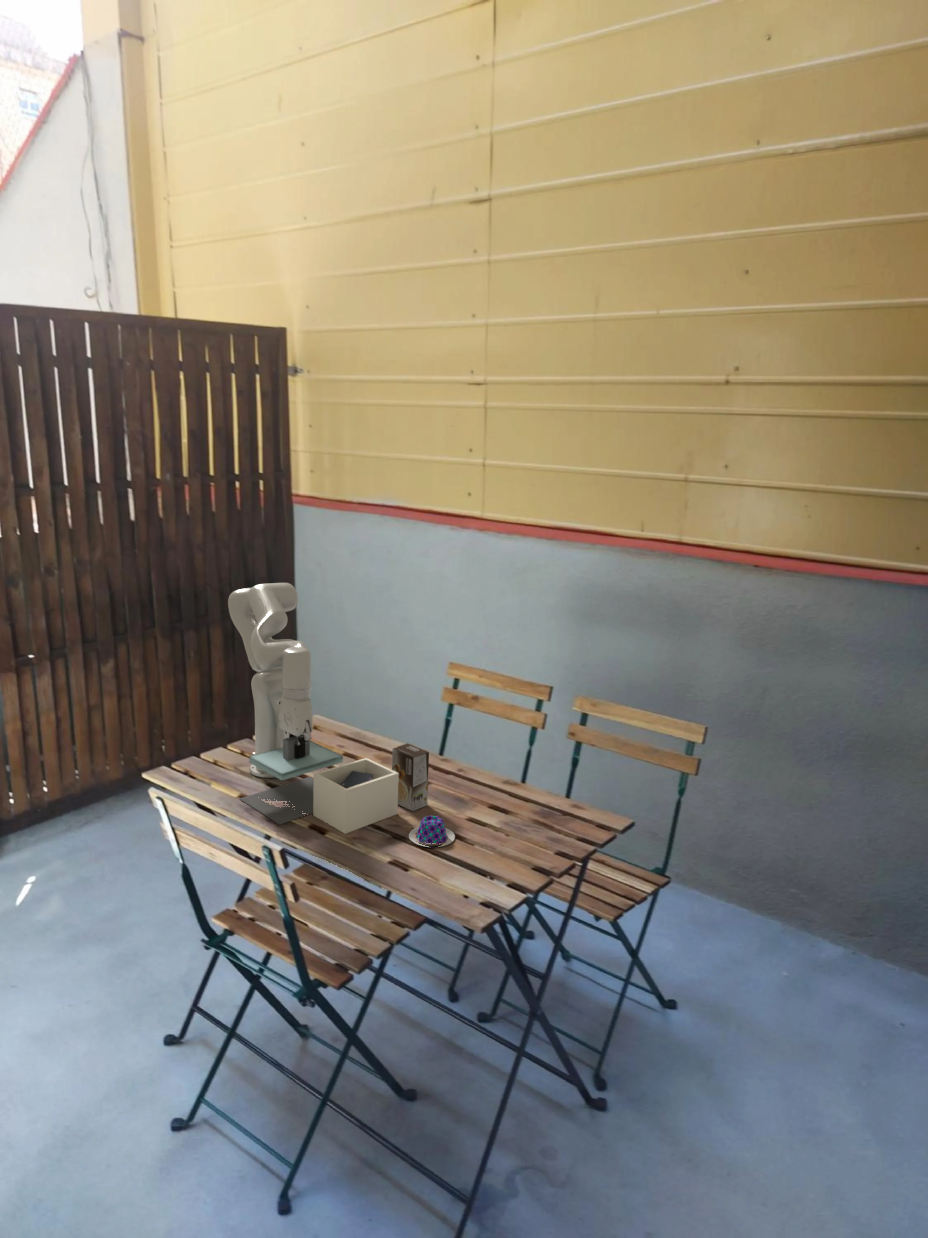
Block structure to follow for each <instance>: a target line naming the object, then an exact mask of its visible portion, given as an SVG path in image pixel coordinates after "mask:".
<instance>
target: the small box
mask: <svg viewBox="0 0 928 1238" xmlns="http://www.w3.org/2000/svg"><path fill="white" fill-rule="evenodd" d="M372 779H373V774H369V773H362V772H357V771H352V772H351V773H350V774H349V775H348V776H347V778H346V779H345V780H344V781H343V782H342V783H341V784H340V785H341V786H342V787H344V788H346V789H347V788H350V787H353V786H356V785H359V784H362V783H365V782H368V781H371V780H372Z"/></svg>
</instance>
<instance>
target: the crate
mask: <svg viewBox="0 0 928 1238" xmlns="http://www.w3.org/2000/svg"><path fill="white" fill-rule="evenodd" d="M352 771H357V772H362V773H369V774H373V779H372V780H371V781H368V782H365V783H362V784H359V785H356V786H353V787H350V788H347V789H346V788H344V787H342V786H341V785H340V784H341V783H342V782H343V781H344V780H345V779H346V778H347V776H348V775H349V774H350V773H351V772H352ZM313 778H314V786H313V813H312V814H313V815H312V816H314V817H315V818H316V819H319V820H321V821H322V820H323V821H322V822H324V823H326V824H327V823H328V824H327V825H329V826H330V827H332V826H333V828H334V827H335V828H334V829H335V830H338V831H339V832H341V833H343V835H345V834H348V833H351V832H353V831H356V830H358V829H361V828H364V827H367V826H368V825H372V824H375V823H377V822H379V821H380V822H381V821H382V820H386V819H387V818H390V817H393V816H395V815H398V807H399V805H398V780H399V773H397V772H395V771H393V770H392V768H388V767H387V766H384V765H382V764H380V763H379V762H376V761H374V760H372V759H370V758H368V757H365V758H364V757H363V758H360V759H358V760H355V761H351V762H347V763H344V764H342V765H338V766H334V767H332V768H329V769H326V770H325V769H324V770H321V771H318V772H316V773H313Z"/></svg>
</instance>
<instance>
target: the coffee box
mask: <svg viewBox="0 0 928 1238" xmlns="http://www.w3.org/2000/svg"><path fill="white" fill-rule="evenodd" d="M391 755H392V759H391V760H392V761H391V770H393V771H395V772H397V773H399V780H398V806H401V807H403V808H405V809H407V810H409V811H412V812H414V811H417V810H419V809H422V808H424V807H427V806H428V790H429V788H428V787H429V768H430V767H429V762H430V761H429V759H430V752H429V751H428V750H425V749H422V748H420V747H417V746H415V745H413V744H410V743H404V744H401V745H398V746H397V747H394V748H392V753H391Z"/></svg>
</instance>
